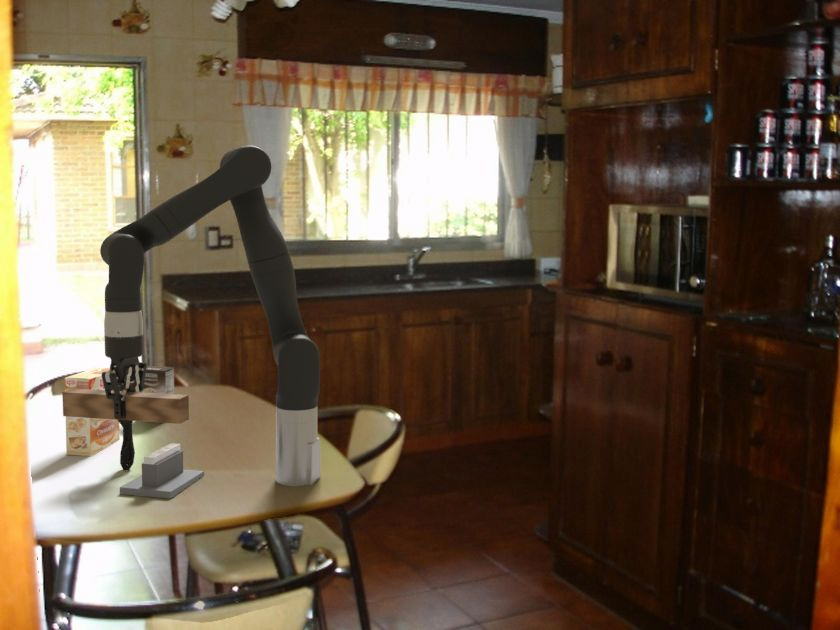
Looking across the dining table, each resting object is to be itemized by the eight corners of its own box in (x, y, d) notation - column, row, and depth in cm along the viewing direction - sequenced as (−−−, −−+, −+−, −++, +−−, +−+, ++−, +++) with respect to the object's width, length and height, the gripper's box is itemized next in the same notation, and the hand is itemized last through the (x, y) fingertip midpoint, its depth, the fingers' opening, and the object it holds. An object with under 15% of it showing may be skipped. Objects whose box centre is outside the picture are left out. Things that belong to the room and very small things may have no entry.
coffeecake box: (91, 456, 230) (89, 378, 228) (65, 455, 231) (62, 377, 229) (121, 441, 245) (119, 368, 242) (96, 440, 246) (94, 367, 244)
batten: (188, 419, 190) (188, 395, 190) (179, 423, 186) (179, 399, 186) (74, 412, 196) (73, 388, 195) (63, 416, 192) (62, 392, 191)
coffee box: (135, 425, 262) (133, 369, 261) (145, 420, 269) (144, 365, 267) (165, 427, 261) (164, 370, 259) (175, 422, 267) (174, 366, 265)
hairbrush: (147, 468, 221) (145, 363, 218) (140, 472, 217) (138, 366, 214) (114, 466, 222) (111, 362, 219) (107, 470, 218) (104, 365, 216)
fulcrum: (204, 477, 214) (203, 443, 213) (170, 498, 199) (170, 461, 198) (156, 473, 217) (155, 439, 216) (119, 493, 201) (118, 457, 201)
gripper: (122, 338, 181) (124, 425, 183) (158, 329, 195) (160, 410, 197) (87, 336, 183) (90, 423, 185) (125, 327, 197) (127, 407, 199)
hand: (126, 415), depth 191 cm, fingers closed on batten, 4 cm apart
